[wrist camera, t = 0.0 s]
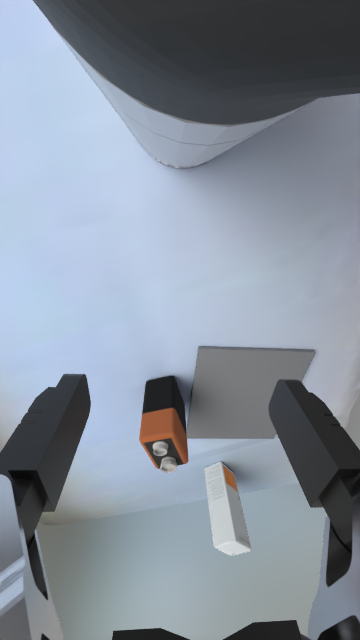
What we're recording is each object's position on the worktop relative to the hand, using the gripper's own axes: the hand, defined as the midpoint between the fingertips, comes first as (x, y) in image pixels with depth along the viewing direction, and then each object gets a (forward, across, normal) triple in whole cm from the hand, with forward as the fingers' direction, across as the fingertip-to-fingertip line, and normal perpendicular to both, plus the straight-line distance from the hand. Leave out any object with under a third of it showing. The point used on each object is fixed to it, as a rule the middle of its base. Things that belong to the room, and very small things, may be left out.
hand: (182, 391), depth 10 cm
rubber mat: (+18, -12, +20) cm, 29 cm away
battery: (+18, 0, +19) cm, 26 cm away
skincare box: (+19, -12, +42) cm, 48 cm away
